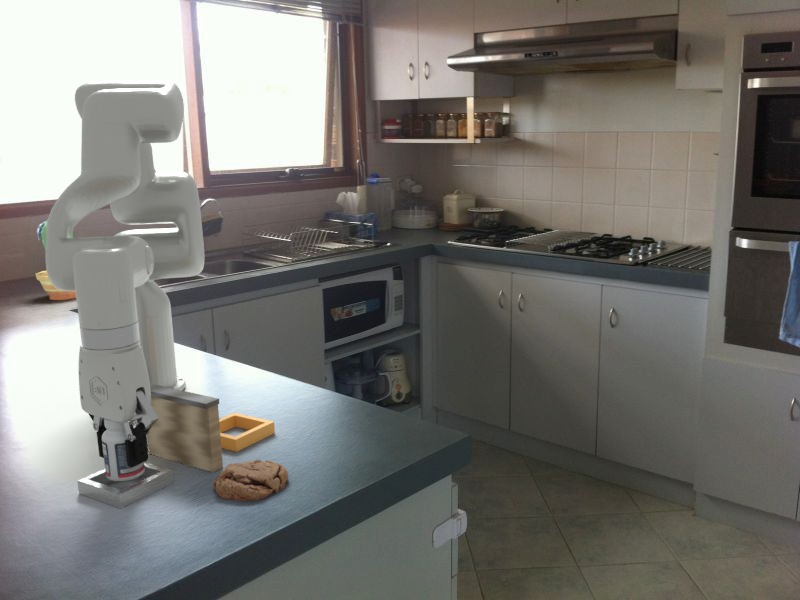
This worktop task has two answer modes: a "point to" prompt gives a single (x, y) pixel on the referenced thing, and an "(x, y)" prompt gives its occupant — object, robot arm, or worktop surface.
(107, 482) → the collar
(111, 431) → the pill bottle
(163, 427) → the beige brown upright block
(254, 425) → the collar
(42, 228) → the potted cactus
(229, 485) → the cookie
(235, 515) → the worktop surface
